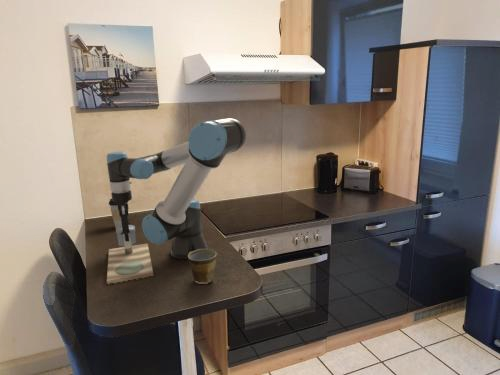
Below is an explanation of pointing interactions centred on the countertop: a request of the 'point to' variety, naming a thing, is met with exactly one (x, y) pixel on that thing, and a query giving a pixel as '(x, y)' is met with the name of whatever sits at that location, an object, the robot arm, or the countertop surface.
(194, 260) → the ceramic cup
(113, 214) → the coffee cup
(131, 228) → the cap
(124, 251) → the bayonet board
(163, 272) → the countertop surface
